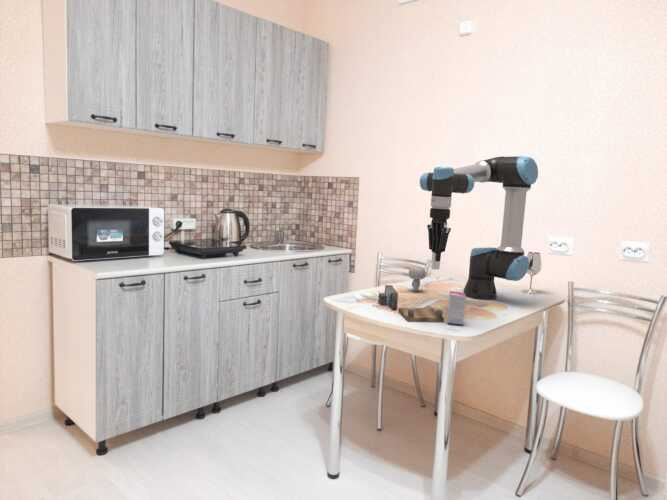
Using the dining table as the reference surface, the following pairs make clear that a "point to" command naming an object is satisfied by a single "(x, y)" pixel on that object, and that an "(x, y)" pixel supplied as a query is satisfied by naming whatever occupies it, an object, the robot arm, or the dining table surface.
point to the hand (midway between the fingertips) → (435, 269)
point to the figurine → (416, 276)
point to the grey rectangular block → (389, 293)
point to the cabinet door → (417, 312)
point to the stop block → (382, 299)
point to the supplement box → (456, 308)
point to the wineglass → (533, 268)
